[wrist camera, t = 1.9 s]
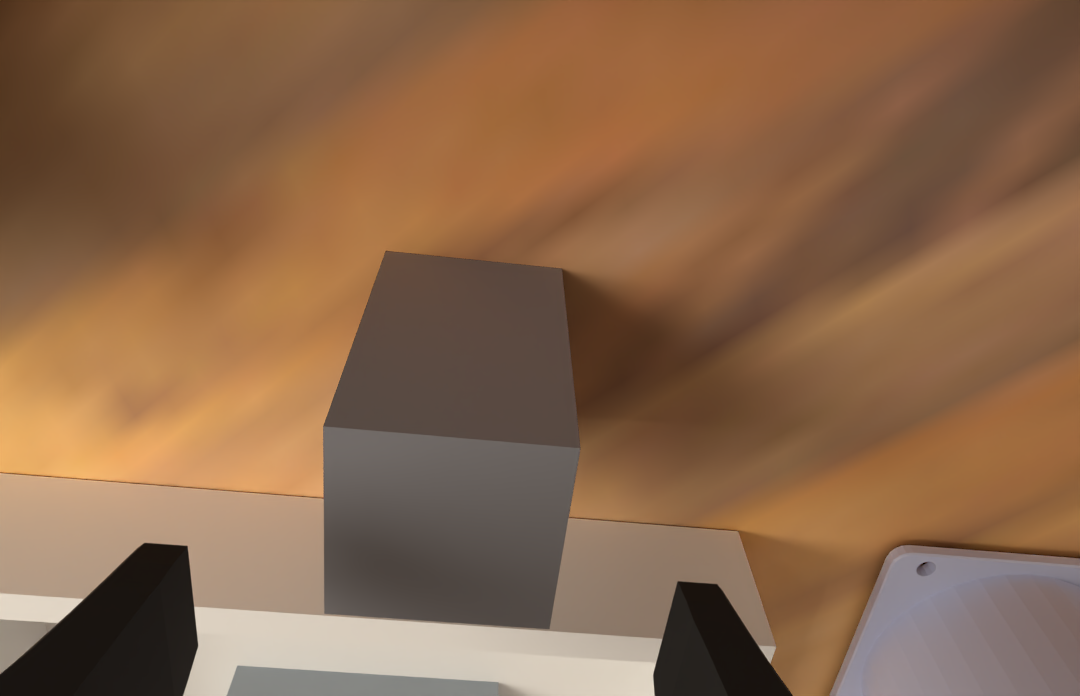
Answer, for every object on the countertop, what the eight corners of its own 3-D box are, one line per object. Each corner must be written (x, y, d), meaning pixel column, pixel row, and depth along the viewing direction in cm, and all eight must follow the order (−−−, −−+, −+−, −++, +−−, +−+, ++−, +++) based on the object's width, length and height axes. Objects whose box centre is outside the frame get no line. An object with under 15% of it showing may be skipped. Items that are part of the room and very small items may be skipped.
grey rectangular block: (561, 268, 20) (580, 448, 14) (541, 414, 22) (549, 628, 15) (385, 250, 19) (323, 426, 13) (380, 400, 21) (324, 614, 15)
